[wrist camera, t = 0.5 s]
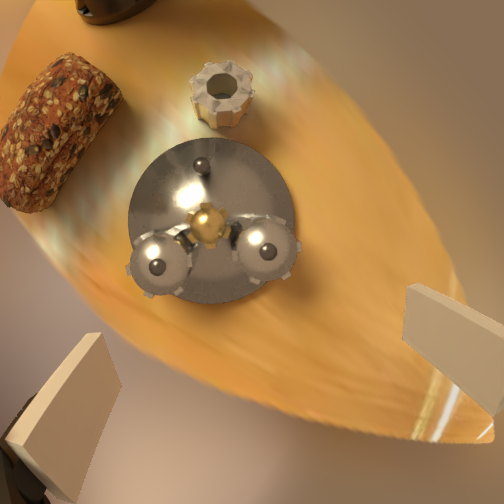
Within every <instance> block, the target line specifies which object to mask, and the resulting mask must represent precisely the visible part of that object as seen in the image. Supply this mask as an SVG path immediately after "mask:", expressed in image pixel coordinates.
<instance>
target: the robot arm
mask: <svg viewBox="0 0 504 504" xmlns="http://www.w3.org/2000/svg"><path fill="white" fill-rule="evenodd" d="M155 1H156V0H75V4H76V9H77V12H78V13H79V15H80V16H81V17H82V19H83V20H84V21H85V22H87V23H90V24H94V25H104V24H111V23H115V22H118V21H121V20H124V19H127V18H129V17H131V16H134V15H136V14H137V13H139V12H141V11H143V10H144V9H146V8H147V7H149V6H150V5H152V4H153V3H154V2H155ZM402 340H403V341H405V342H406V343H407V344H408V345H409V346H411V347H412V348H413V349H414V350H415V351H417V352H418V353H419V354H420V355H421V356H423V357H424V358H425V359H426V360H427V361H429V362H430V363H431V364H432V365H433V366H434V367H436V368H437V369H438V370H439V371H440V372H442V373H443V374H444V375H445V376H446V377H447V378H449V379H450V380H451V381H452V382H453V383H454V384H456V385H457V386H458V387H459V388H460V389H461V390H463V391H464V392H465V393H466V394H467V395H468V396H469V397H471V398H472V399H473V400H474V401H475V402H476V403H477V404H479V405H480V406H481V407H482V408H483V409H484V410H485V411H486V412H488V413H489V414H490V415H491V416H492V417H493V416H495V415H496V414H497V413H498V412H499V411H501V410H502V409H503V408H504V325H502V324H500V323H498V322H497V321H495V320H493V319H491V318H489V317H487V316H485V315H483V314H481V313H479V312H477V311H476V310H473V309H472V308H470V307H468V306H466V305H464V304H462V303H460V302H458V301H456V300H454V299H452V298H450V297H448V296H446V295H444V294H442V293H440V292H438V291H436V290H433V289H431V288H429V287H427V286H425V285H423V284H421V283H416V284H412V285H408V286H407V292H406V306H405V317H404V326H403V335H402ZM121 387H122V385H121V382H120V380H119V378H118V375H117V373H116V370H115V368H114V365H113V362H112V360H111V357H110V354H109V352H108V349H107V346H106V343H105V340H104V337H103V334H102V333H87V334H86V335H85V336H84V338H83V339H82V340H81V341H80V342H79V343H78V344H77V346H76V347H75V348H74V349H73V350H72V351H71V353H70V354H69V355H68V356H67V357H66V359H65V360H64V361H63V362H62V363H61V365H60V366H59V367H58V369H57V370H56V371H55V372H54V373H53V375H52V376H51V377H50V378H49V380H48V381H47V382H46V384H45V385H44V386H43V387H42V389H41V390H40V391H39V392H38V393H37V394H35V395H34V396H33V397H31V398H30V399H29V400H28V401H27V403H26V404H25V405H24V406H23V408H22V409H23V410H20V412H19V413H18V414H17V417H15V419H14V420H13V421H12V423H11V424H10V426H9V427H8V428H7V430H6V431H5V433H4V434H3V435H2V437H1V438H0V504H51V503H50V501H49V499H48V498H47V497H46V495H45V494H44V492H45V490H46V488H47V489H48V490H49V491H50V492H51V493H52V494H53V495H54V496H55V497H56V498H58V499H61V500H64V501H67V502H71V503H74V504H76V502H77V499H78V496H79V493H80V490H81V487H82V485H83V482H84V479H85V476H86V473H87V470H88V468H89V465H90V462H91V459H92V457H93V455H94V452H95V449H96V447H97V444H98V442H99V439H100V437H101V434H102V431H103V429H104V427H105V424H106V422H107V419H108V417H109V415H110V412H111V410H112V408H113V405H114V403H115V401H116V398H117V396H118V394H119V392H120V389H121Z"/></svg>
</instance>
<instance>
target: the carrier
mask: <svg viewBox="0 0 504 504" xmlns="http://www.w3.org/2000/svg"><path fill="white" fill-rule="evenodd" d="M128 228H129V236H130V241H131V245H132V248H133V252H132V254H131V258H130V263H129V264H128V265H126V271H127V276H128V275H132V277H133V279H134V280H135V282H136V283H137V285H138V286H139V287H140V288H142V289H143V290H144V291H145V292H144V295H145V296H147V297H149V298H152V299H153V297H154V295H167V294H172V295H175V296H177V297H179V298H181V299H184V300H187V301H191V302H196V303H203V304H218V303H225V302H230V301H234V300H237V299H240V298H243V297H245V296H247V295H249V294H251V293H253V292H254V291H256V290H257V289H259V288H260V287H262V286H263V285H264V284H265V283H266V282H267V281H272V280H276V279H278V278H280V277H281V278H282V279H283V281H284V280H286V279H287V278H288V277H290V276H291V273H290V272H289V271H290V269H291V268H292V267H293V265H294V263H295V261H296V257H297V252H302V245H301V241H299V240H297V239H295V237H294V235H293V231H294V210H293V204H292V199H291V196H290V193H289V190H288V188H287V186H286V183H285V181H284V179H283V178H282V176H281V175H280V173H279V172H278V170H277V169H276V168H275V167H274V166H273V164H272V163H271V162H270V161H269V160H267V159H266V158H265V157H264V156H263V155H262V154H260V153H259V152H257V151H256V150H254V149H253V148H251V147H249V146H247V145H245V144H242V143H239V142H236V141H233V140H228V139H223V138H200V139H195V140H190V141H187V142H184V143H181V144H179V145H177V146H175V147H173V148H171V149H169V150H167V151H166V152H164V153H163V154H162V155H160V156H159V157H158V158H157V159H156V160H154V161H153V162H152V163H151V164H150V166H149V167H148V168H147V169H146V170H145V172H144V173H143V175H142V176H141V178H140V179H139V181H138V183H137V185H136V187H135V189H134V192H133V195H132V198H131V201H130V207H129V213H128Z"/></svg>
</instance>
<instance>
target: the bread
mask: <svg viewBox="0 0 504 504" xmlns="http://www.w3.org/2000/svg"><path fill="white" fill-rule="evenodd" d="M122 99H123V97H122V94H121V91H120V89H119V88H118V87H117V86H116V85H115V83H114V82H113V81H112V80H111V79H110V78H109V77H107V76H106V75H105V73H103V72H102V71H101V70H99V69H97V68H96V67H95V66H93V65H91V64H90V63H89V62H87V61H86V60H85V59H84V58H82V57H80V56H76V55H75V54H73V53H70V52H69V53H66V54H64V55H62V56H60V57H58V58H57V59H56V60H55V61H54V62H51V63H50V64H49V65H48V66H47V67H46V69H45V70H44V71H43V72H41V73H40V74H39V76H38V78H37V79H36V80H35V81H34V82H33V83H32V84H31V85H30V86H29V87H28V89H27V90H26V92H25V93H24V94H23V95H22V97H21V98H20V99H19V102H18V104H17V107H16V109H14V111H13V112H12V114H11V115H10V117H9V118H8V120H7V123H5V125H4V126H3V128H2V130H1V134H0V198H1V200H2V201H3V202H4V203H5V204H6V206H7V207H9V208H10V206H11V207H12V208H14V209H16V210H18V211H21V212H24V213H30V214H31V213H33V212H38V211H40V212H42V211H43V209H47V208H48V207H49V206H50V205H51V204H52V203H53V202H54V200H55V197H56V194H57V193H58V191H59V189H60V188H61V186H62V184H63V183H64V182H65V180H66V179H67V178H68V176H69V175H70V173H71V171H73V168H74V167H75V165H76V164H77V162H78V161H79V160H80V158H81V156H82V155H83V154H84V152H85V151H86V150H87V148H88V147H89V145H90V144H91V143H92V141H93V140H94V138H95V137H96V136H97V134H98V131H99V130H100V129H101V128H102V127H103V126H104V123H105V122H106V121H107V120H108V119H109V116H110V115H111V114H112V113H113V111H114V110H115V109H116V107H117V106H118V105H119V104H120V102H121V100H122Z"/></svg>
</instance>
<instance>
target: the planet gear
mask: <svg viewBox="0 0 504 504" xmlns="http://www.w3.org/2000/svg"><path fill="white" fill-rule="evenodd" d="M235 63H236V61H232V60H227V62H224V63H214V64H212V62H211V61H210V62H208V63H206V64H203V67H204V68H203V69H202V70H201V71H200V72H199V73H198V74H197V75H196V76H192V77H191V80H190V82H189V84H190V88H191V92H192V97H190V98H191V101H192V105H193V109H194V112H195V115H196V117H197V118H198V120H199V119H201V118H202V119H203V120H204V121H206V122H207V123H209V126H210V128H212V129H216V130H217V128H218V127H220V126H229V125H230V126H231V128H232V127H234V126H236V125H238V123H239V119H240V118H241V117H242V115H243V114H248V111H249V108H250V105H251V102H252V99H253V96H254V93H255V90H252V89H251V82H252V78H253V75H252V74H251V72H250V71H249V70H248V71H244V70H243V69H241V68H240V67H238V66H237V65H235ZM216 93H227V94H228V95H230V96H231V98H229V99H219V100H217V99H215V98H214V97H212V96H213V95H214V94H216Z"/></svg>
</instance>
